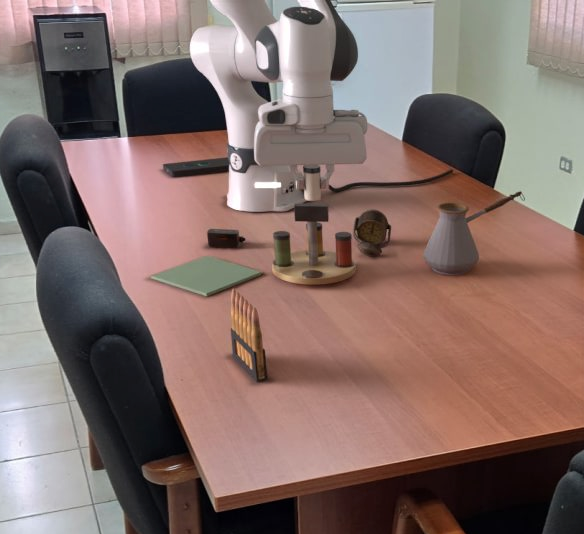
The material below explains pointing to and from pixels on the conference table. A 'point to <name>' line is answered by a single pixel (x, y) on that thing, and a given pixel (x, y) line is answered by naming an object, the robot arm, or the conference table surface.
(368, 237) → the vintage desk clock
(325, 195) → the conference table surface
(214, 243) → the black box with knob
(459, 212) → the coffee pot
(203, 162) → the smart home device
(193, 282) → the sage mat
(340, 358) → the conference table surface
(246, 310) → the ammunition clip
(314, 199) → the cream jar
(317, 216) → the spice carousel
